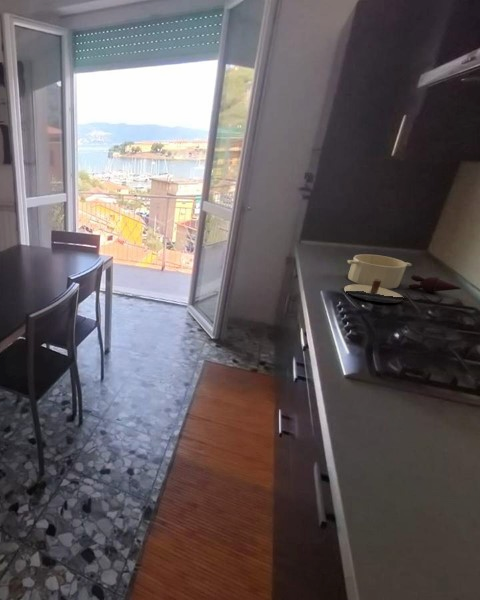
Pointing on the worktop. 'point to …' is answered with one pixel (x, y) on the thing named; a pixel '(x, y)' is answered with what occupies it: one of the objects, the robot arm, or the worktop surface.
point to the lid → (372, 289)
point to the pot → (377, 270)
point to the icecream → (432, 284)
